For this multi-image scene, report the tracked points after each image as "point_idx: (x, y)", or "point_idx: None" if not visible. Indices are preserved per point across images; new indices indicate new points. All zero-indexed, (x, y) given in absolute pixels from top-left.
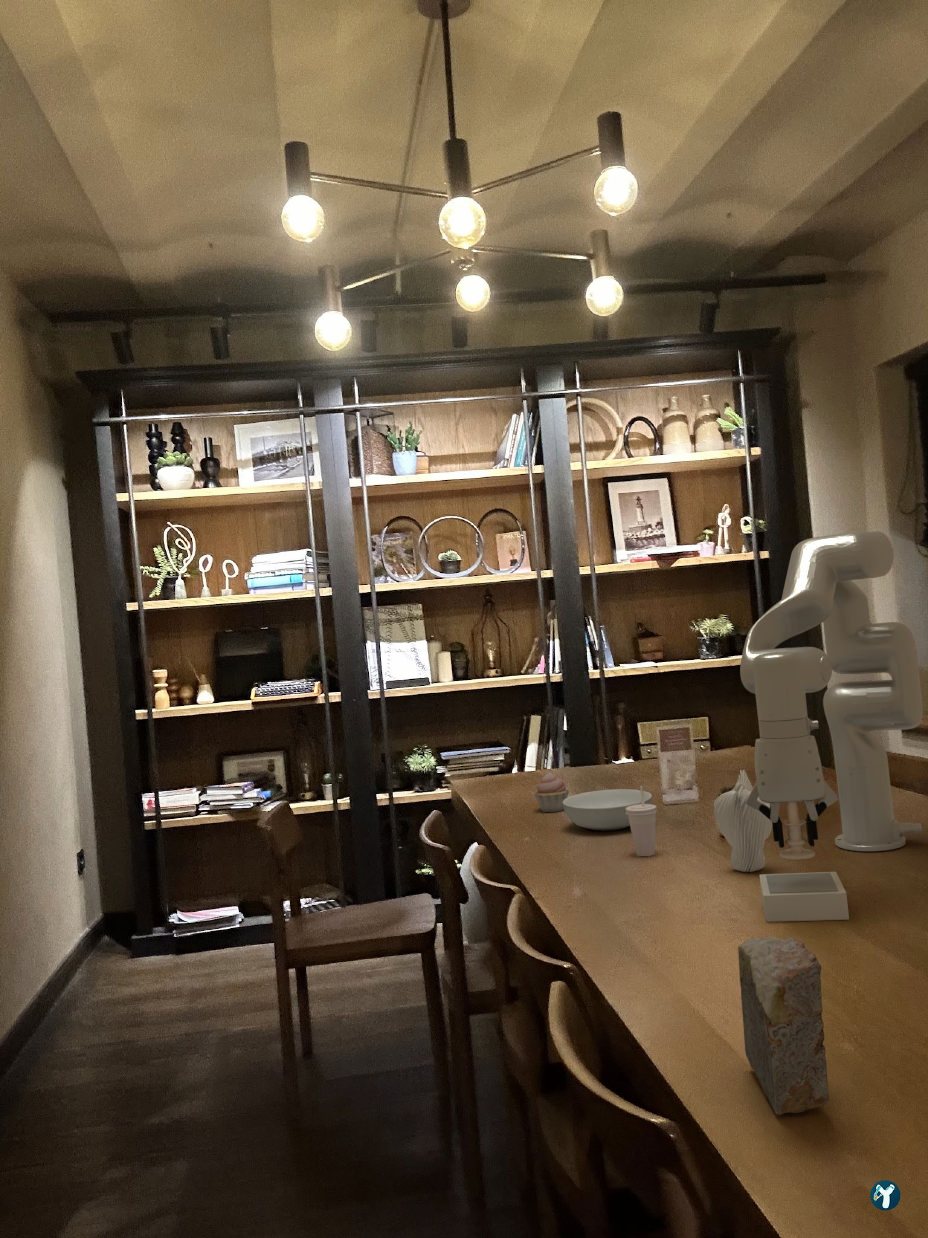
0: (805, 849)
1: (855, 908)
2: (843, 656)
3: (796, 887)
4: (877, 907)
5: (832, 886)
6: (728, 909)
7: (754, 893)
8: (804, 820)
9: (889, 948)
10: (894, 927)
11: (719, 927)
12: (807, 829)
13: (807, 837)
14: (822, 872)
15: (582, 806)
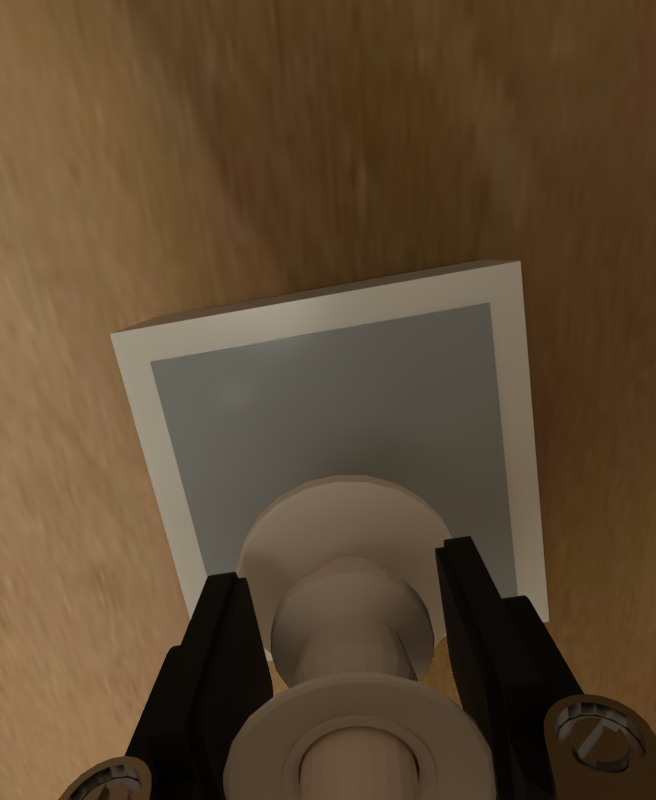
0: (401, 521)
1: (542, 423)
2: None
3: None
4: (628, 405)
5: (495, 548)
6: (51, 468)
7: (101, 228)
8: (472, 740)
9: None
10: (652, 617)
11: (79, 658)
12: (474, 719)
13: (441, 566)
14: (447, 281)
15: None
